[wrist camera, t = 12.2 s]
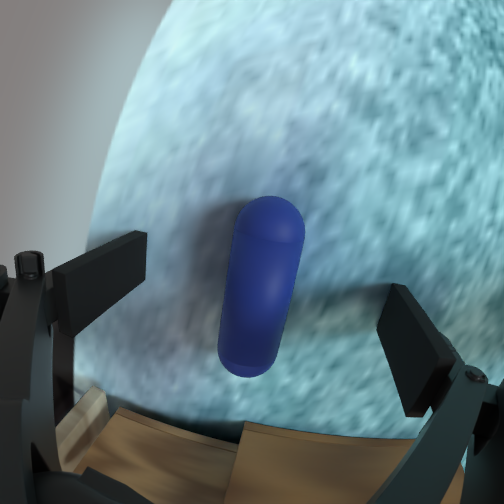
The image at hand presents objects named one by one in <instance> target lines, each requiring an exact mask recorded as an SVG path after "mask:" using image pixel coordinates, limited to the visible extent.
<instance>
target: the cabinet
mask: <svg viewBox="0 0 504 504" xmlns="http://www.w3.org/2000/svg"><path fill="white" fill-rule="evenodd" d="M415 440H416V439H374V438H357V437H345V436H334V435H325V434H317V433H309V432H302V431H295V430H289V429H283V428H277V427H272V426H266V425H261V424H256V423H252V422H247V421H245V423H244V427H243V431H242V435H241V439H240V443H239V446H238V450H237V454H236V457H235V461H234V465H233V469H232V472H231V476H230V479H229V483H228V487H227V490H226V494H225V497H224V501H223V504H366V503H367V502H368V500H369V499H370V498H371V497H372V496H373V495H374V494H375V492H376V491H377V490H378V489H379V488H380V487H381V485H382V484H383V483H384V482H385V480H386V479H387V478H388V477H389V475H390V474H391V473H392V472H393V470H394V469H395V468H396V466H397V465H398V464H399V462H400V461H401V460H402V458H403V457H404V456H405V454H406V453H407V451H408V450H409V449H410V447H411V446H412V444H413V443H414V441H415ZM464 475H465V473H464V470H463V467H462V465H461V462H460V465H459V467H458V469H457V471H456V473H455V476H454V478H453V480H452V482H451V484H450V486H449V488H448V490H447V492H446V494H445V496H444V498H443V499H442V501H441V503H440V504H460V499H461V494H462V488H463V482H464Z"/></svg>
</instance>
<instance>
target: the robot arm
mask: <svg viewBox="0 0 504 504" xmlns="http://www.w3.org/2000/svg"><path fill="white" fill-rule="evenodd" d="M146 247H147V233H146V232H141V231H136V230H135V231H133V232H130V233H128V234H126V235H124V236H121V237H119V238H117V239H115V240H112V241H110V242H108V243H106V244H104V245H102V246H99V247H97V248H95V249H93V250H91V251H89V252H87V253H85V254H82V255H80V256H78V257H76V258H74V259H72V260H70V261H68V262H66V263H64V264H62V265H60V266H58V267H56V268H54V269H52V270H50V271H48V272H46V273H45V270H44V256H43V253H41V252H38V251H24V252H20V253H18V254H16V255H15V256H14V260H15V269H16V279H15V278H9V277H8V275H7V269H6V267H5V266H4V265H0V504H154V503H153V502H151V501H150V500H148V499H146V498H145V497H143V496H142V495H140V494H139V493H138V492H136V491H135V490H133V489H132V488H130V487H129V486H128V485H126V484H124V483H121V482H119V481H117V480H115V479H113V478H111V477H109V476H106V475H104V474H102V473H100V472H98V471H96V470H94V469H93V468H91V467H89V466H87V468H86V469H85V471H84V472H83V473H82V474H78V473H73V472H65V471H62V469H61V465H60V462H59V456H58V449H57V441H56V432H55V421H54V408H53V386H52V348H53V328H52V323H53V322H55V321H56V320H57V319H58V325H59V331H60V332H61V333H63V334H65V335H68V336H70V337H72V338H74V337H75V336H76V335H77V334H78V333H80V332H81V331H82V330H83V329H84V328H86V327H87V326H88V325H89V324H90V323H92V322H93V321H94V320H95V319H97V318H98V317H99V316H100V315H102V314H103V313H104V312H105V311H107V310H108V309H109V308H110V307H111V306H113V305H114V304H115V303H117V302H118V301H119V300H120V299H122V298H123V297H124V296H125V295H127V294H128V293H129V292H130V291H132V290H133V289H134V288H135V287H137V286H138V285H139V284H141V283H142V282H143V281H144V280H145V270H146ZM376 330H377V333H378V336H379V338H380V341H381V344H382V347H383V349H384V352H385V355H386V358H387V361H388V363H389V366H390V369H391V372H392V375H393V378H394V381H395V384H396V387H397V390H398V393H399V397H400V400H401V403H402V406H403V409H404V413H405V416H406V417H422V418H423V416H424V415H425V413H426V411H427V410H428V408H429V407H430V406H431V409H432V411H433V414H432V415H431V417H430V418H429V420H428V421H427V422H426V424H425V425H424V427H423V428H422V430H421V431H420V432H419V435H418V437H417V438H416V440H415V441H414V443H413V444H412V446H411V447H410V449H409V450H408V451H407V453H406V454H405V456H404V457H403V458H402V460H401V461H400V462H399V464H398V465H397V466H396V468H395V469H394V470H393V472H392V473H391V474H390V475H389V477H388V478H387V479H386V480H385V482H384V483H383V484H382V485H381V487H380V488H379V489H378V490H377V491H376V492H375V494H374V495H373V496H372V497H371V498H370V499H369V500H368V502H367V503H366V504H440V503H441V501H442V499H443V498H444V496H445V494H446V492H447V490H448V488H449V486H450V484H451V482H452V480H453V478H454V476H455V473H456V471H457V469H458V467H459V465H460V462H461V460H462V458H463V455H464V453H465V451H466V448H467V446H468V448H467V458H466V467H465V475H464V482H463V488H462V494H461V499H460V504H504V379H503V380H502V382H501V384H500V385H499V386H495V385H491V384H488V378H487V377H486V375H485V374H484V373H483V372H482V371H481V370H479V369H478V368H476V367H474V366H470V365H465V363H464V362H463V360H462V359H461V357H460V356H459V354H458V353H457V352H456V350H455V348H454V347H452V346H453V345H452V344H451V342H450V341H449V339H448V338H447V337H445V336H444V335H443V334H442V333H441V332H438V330H437V329H436V327H435V326H434V324H433V323H432V321H431V320H430V319H429V317H428V316H427V314H426V313H425V311H424V310H423V309H422V307H421V306H420V305H419V303H418V302H417V300H416V299H415V298H414V296H413V295H412V294H411V292H410V291H409V290H408V288H407V287H406V286H405V285H400V284H395V283H392V286H391V289H390V292H389V295H388V298H387V301H386V304H385V307H384V310H383V313H382V315H381V318H380V321H379V324H378V326H377V329H376Z"/></svg>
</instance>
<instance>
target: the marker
mask: <svg viewBox="0 0 504 504" xmlns="http://www.w3.org/2000/svg"><path fill="white" fill-rule="evenodd" d="M304 238H305V225H304V222H303V218H302V216H301V215H300V213H299V211H298V210H297V209H296V207H295V206H294V205H292V204H291V203H290V202H289V201H287V200H285V199H283V198H280V197H275V196H264V197H260V198H257V199H254V200H252V201H251V202H249V203H248V204H247V205H245V206H244V207H243V209H242V210H241V211H240V213H239V215H238V217H237V219H236V222H235V226H234V232H233V239H232V246H231V252H230V259H229V266H228V273H227V280H226V287H225V294H224V301H223V308H222V315H221V323H220V330H219V338H218V356H219V359H220V361H221V363H222V364H223V366H224V367H225V368H226V369H227V370H228V371H229V372H231V373H232V374H234V375H236V376H240V377H246V378H250V377H256V376H259V375H261V374H263V373H264V372H266V371H267V370H268V369H269V368H270V367H271V366H272V365H273V363H274V361H275V359H276V357H277V353H278V349H279V345H280V341H281V337H282V333H283V329H284V325H285V321H286V317H287V313H288V309H289V305H290V301H291V296H292V292H293V288H294V283H295V279H296V275H297V270H298V266H299V261H300V257H301V252H302V248H303V243H304Z"/></svg>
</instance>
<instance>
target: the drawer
mask: <svg viewBox="0 0 504 504" xmlns="http://www.w3.org/2000/svg"><path fill="white" fill-rule="evenodd" d="M55 432H56V441H57V449H58V456H59V462H60V465H61V469H62V471H65V472H73V473H78V474H82V473H83V472H84V471H85V469H86V468H87V466H89V467H91V468H93V469H94V470H96V471H98V472H100V473H102V474H104V475H106V476H109V477H111V478H113V479H115V480H117V481H119V482H121V483H124V484H126V485H128V486H129V487H130V488H132V489H133V490H135V491H136V492H138V493H139V494H140V495H142V496H143V497H145V498H146V499H148V500H150V501H151V502H153V503H154V504H223V501H224V497H225V494H226V490H227V487H228V483H229V479H230V476H231V472H232V469H233V465H234V461H235V457H236V454H237V450H238V446H239V444H235V443H230V442H226V441H222V440H218V439H214V438H211V437H207V436H203V435H200V434H196V433H193V432H190V431H186V430H183V429H180V428H177V427H174V426H171V425H168V424H165V423H162V422H159V421H156V420H153V419H151V418H148V417H145V416H142V415H140V414H137V413H135V412H132V411H130V410H127V409H125V408H122V407H119V408H118V409H117V411H116V412H115V414H114V415H113V416H112V418H110V414H109V409H108V404H107V399H106V394H105V391H104V390H101V389H99V388H97V387H95V386H92V387H91V388H90V389H89V390H88V391H87V392H86V393H85V395H84V396H83V397H82V398H81V399H80V400H79V401H78V402H77V404H76V405H75V406H74V407H73V408H72V409H71V410H70V412H69V413H68V414H67V415H66V416H65V417H64V419H63V420H62V421H61V422H60V423H59V424H58V425H57V427H56V428H55Z"/></svg>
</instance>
